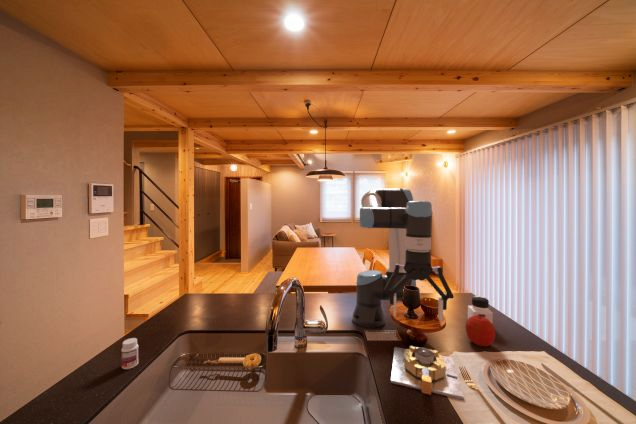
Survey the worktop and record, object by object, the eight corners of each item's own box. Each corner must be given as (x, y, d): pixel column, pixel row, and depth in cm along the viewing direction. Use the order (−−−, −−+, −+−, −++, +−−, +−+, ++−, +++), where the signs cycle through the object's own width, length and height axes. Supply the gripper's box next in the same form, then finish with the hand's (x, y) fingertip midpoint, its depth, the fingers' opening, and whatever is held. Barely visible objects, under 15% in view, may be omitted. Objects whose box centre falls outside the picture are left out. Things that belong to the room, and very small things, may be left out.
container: (492, 330, 114) (493, 301, 113) (473, 328, 115) (474, 300, 115) (485, 322, 121) (485, 295, 121) (467, 321, 123) (467, 294, 122)
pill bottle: (127, 361, 89) (127, 337, 89) (141, 360, 89) (141, 337, 89) (117, 370, 84) (117, 345, 84) (133, 369, 85) (132, 344, 85)
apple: (459, 338, 106) (459, 311, 106) (479, 336, 109) (480, 309, 108) (479, 352, 96) (480, 322, 96) (501, 349, 99) (502, 319, 98)
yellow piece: (404, 352, 93) (404, 342, 93) (442, 360, 89) (442, 348, 89) (403, 388, 75) (403, 375, 75) (450, 399, 71) (451, 385, 71)
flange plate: (394, 348, 98) (394, 331, 98) (452, 359, 91) (453, 341, 91) (390, 382, 79) (391, 361, 79) (463, 399, 73) (464, 376, 72)
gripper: (377, 249, 80) (376, 317, 80) (465, 254, 74) (464, 327, 74) (377, 246, 87) (376, 308, 88) (458, 250, 81) (457, 316, 81)
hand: (417, 317), depth 81 cm, fingers open, 13 cm apart
